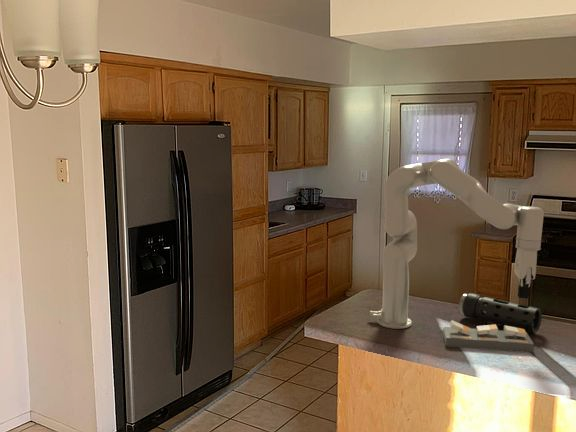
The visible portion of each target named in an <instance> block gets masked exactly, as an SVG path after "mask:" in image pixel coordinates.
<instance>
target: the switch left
mask: <svg viewBox="0 0 576 432" xmlns="http://www.w3.org/2000/svg"><path fill="white" fill-rule="evenodd" d="M449 327H451V328H453V329H455V330H457V331H460V332H462V333H464V334H466V335H469V334H470V329H471V328H470V327H468V326H466V325H464V324H462V323H460V322H457V321H455V320H453V319H450V322H449ZM469 328H470V329H469Z"/></svg>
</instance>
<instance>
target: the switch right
mask: <svg viewBox="0 0 576 432" xmlns="http://www.w3.org/2000/svg"><path fill="white" fill-rule="evenodd" d="M503 331H505V333H506V334H510V335H516V336H521V337H526V334H527V333H526V331H525V330H524V329H521V328H516V327H511V326H505V325H504V327H503Z"/></svg>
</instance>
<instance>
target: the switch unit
mask: <svg viewBox="0 0 576 432" xmlns="http://www.w3.org/2000/svg"><path fill="white" fill-rule="evenodd" d="M469 329H470V334H469V335H466V334H464V333H462V332H460V331H457V330H455V329H453V328H451V326H443V327H442V336H443V341H444V345H445V347H449V348H451V347H452V348H462V349H463V348H466V349H479V350H491V351H504V352H505V351H507V352H517V353H518V352H520V353H530V354H531V353H534V347H535V344H534V342H533V340H532V338H531V337H530V336H529V334H526V337H521V336H516V335H510V334H506V333H505V331H504V330H500V329H498V333H490V334H478V332H477V328H470V327H469ZM526 333H527V332H526Z"/></svg>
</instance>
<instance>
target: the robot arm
mask: <svg viewBox="0 0 576 432" xmlns="http://www.w3.org/2000/svg"><path fill="white" fill-rule="evenodd" d="M385 180H386V181H385V184H384V230H385V232H386V234H387V235H389V237H391V238H392V241H391V242H389V243H388V244H386V245H385V247H384V248H383V251H382V256H381V258H382V259H381V262H382V268H383V269H382V273H383V274H382V301H381V302H382V305H381V306H382V307H381V309H380V310H378V311H377V310H376V311H375V310H370V311H369V316H370V317H372V318H375V319H377V324H379V326H381V327H384V328H388V329H395V330H397V329H398V330H399V329H407V328H409V327H411V326H413V325H412V323H413V322H412V320H411V319H410V318H409V317H408V314H409V296H410V295H409V293H410V291H409V290H410V270H409V263H410V262H411V261H412V260H413V259H414V258H415V256H416V255H417V253H418V222H417V221H418V220H417V218H416V216H415V214H414V213H413V212H412V211H411V210H409V197H408V192H409V190H411V189H414V188H417V187H422V186H428V185H435V184H437V185H438V186H440V187H442V188H443V189H445V190H446V191H447V192H449V193H450V194H451V195H454V196H455V197H456V198H458V199H459V200H460V201H462V202H463V203H464V204H465V206H467V207H469V209H471V210H472V211H473V212H474V213H475V214H476V215H478V216H479V217H480V218H481V219H482V220H484V221H486V222H487V223H489V224H490V225H492V226H494V227H495V228H497V229H500V230H507V229H510V228H512V227H513V226H517V227H516V229H517V231H516V237H515V238H516V240H515V248H516V253H515V261H514V270H513V272H514V274H515V276H516V277H517V278H518V289H517V298H519V299H529V298H530V289H531V288H530V287H531V280H532V281H533V280H535V279H536V274H537V262H538V261H537V259H538V251H540V250H541V246H542V245H541V244H542V234H543V224H544V213H545V212H544V210H543V208H541V207H537V206H529V205H527V206H525V205H524V206H523V205H518V204H513V203H502V202H500V201H498V200H497V199H496V198H494V197H492V195H490V194H489V193H488V192H487V191H486V190H485V189H484V187H483V185H482V184H481V182H480V181H478V180H477V179H476V178H475V177H473V176H472V175H470V174H468V173H467V172H465V171H464V170H462V169H461V168H460V167H459V164H458V163H457V162H456V161H455V160H453V159H451V158H443V159H442V158H441V159H437V160H432V161H425V162H417V163H412V164H406V165H403V166H400V167H397V168H396V169H395V170H393V171H392V172H391V173H390V174H389V175H388V177H387V178H386V179H385Z"/></svg>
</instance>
